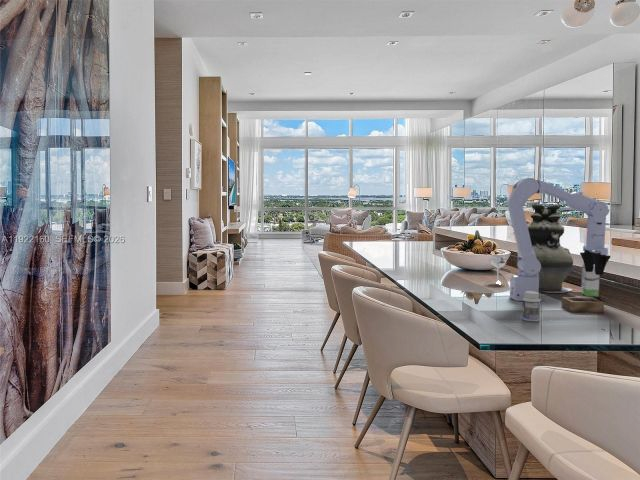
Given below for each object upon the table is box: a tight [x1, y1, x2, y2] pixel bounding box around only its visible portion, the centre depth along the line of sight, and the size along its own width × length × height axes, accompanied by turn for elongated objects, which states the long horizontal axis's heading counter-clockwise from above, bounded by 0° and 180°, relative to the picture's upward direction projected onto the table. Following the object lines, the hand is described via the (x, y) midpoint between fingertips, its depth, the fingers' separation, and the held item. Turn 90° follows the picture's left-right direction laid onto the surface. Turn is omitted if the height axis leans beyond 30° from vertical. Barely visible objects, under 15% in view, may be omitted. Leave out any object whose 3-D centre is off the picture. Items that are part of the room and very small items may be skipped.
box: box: [561, 296, 605, 314], centre depth 165 cm, size 10×8×3 cm
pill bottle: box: [522, 291, 541, 322], centre depth 150 cm, size 5×5×8 cm
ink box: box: [580, 262, 600, 297], centre depth 194 cm, size 9×5×12 cm, turn 162°
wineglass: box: [490, 254, 508, 285], centre depth 223 cm, size 7×7×12 cm
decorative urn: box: [516, 204, 574, 294], centre depth 205 cm, size 21×21×35 cm
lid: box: [573, 295, 606, 308], centre depth 175 cm, size 11×9×3 cm
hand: (593, 273), depth 179 cm, fingers open, 7 cm apart
